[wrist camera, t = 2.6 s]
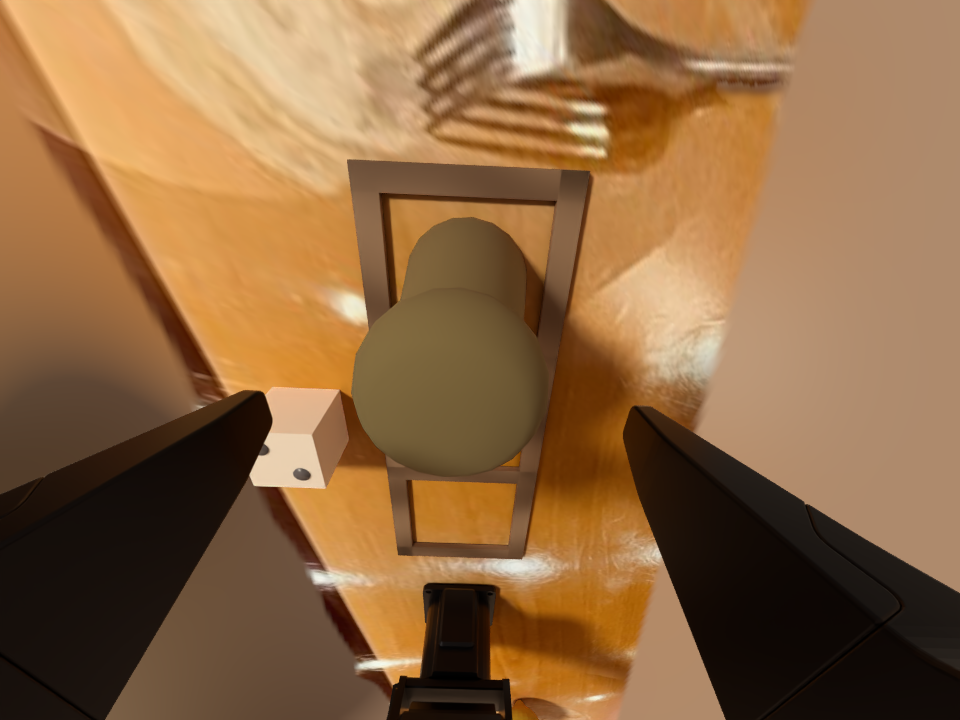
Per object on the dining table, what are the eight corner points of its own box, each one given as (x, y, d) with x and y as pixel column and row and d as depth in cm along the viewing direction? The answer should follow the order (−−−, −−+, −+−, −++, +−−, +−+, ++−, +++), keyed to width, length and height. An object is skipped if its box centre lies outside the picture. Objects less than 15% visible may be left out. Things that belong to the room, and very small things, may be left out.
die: (349, 438, 23) (325, 489, 20) (288, 436, 23) (253, 486, 19) (339, 389, 21) (311, 435, 18) (273, 386, 21) (230, 432, 17)
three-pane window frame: (521, 554, 29) (522, 559, 29) (399, 550, 29) (398, 555, 29) (587, 170, 15) (589, 171, 15) (350, 159, 15) (347, 159, 15)
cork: (537, 225, 16) (614, 320, 7) (516, 340, 19) (548, 520, 10) (406, 209, 16) (291, 285, 6) (406, 329, 19) (327, 502, 9)
